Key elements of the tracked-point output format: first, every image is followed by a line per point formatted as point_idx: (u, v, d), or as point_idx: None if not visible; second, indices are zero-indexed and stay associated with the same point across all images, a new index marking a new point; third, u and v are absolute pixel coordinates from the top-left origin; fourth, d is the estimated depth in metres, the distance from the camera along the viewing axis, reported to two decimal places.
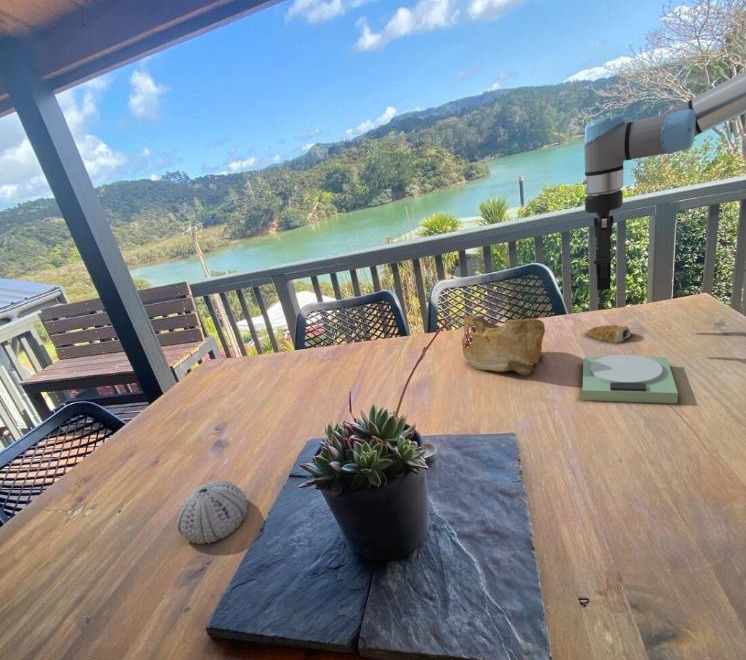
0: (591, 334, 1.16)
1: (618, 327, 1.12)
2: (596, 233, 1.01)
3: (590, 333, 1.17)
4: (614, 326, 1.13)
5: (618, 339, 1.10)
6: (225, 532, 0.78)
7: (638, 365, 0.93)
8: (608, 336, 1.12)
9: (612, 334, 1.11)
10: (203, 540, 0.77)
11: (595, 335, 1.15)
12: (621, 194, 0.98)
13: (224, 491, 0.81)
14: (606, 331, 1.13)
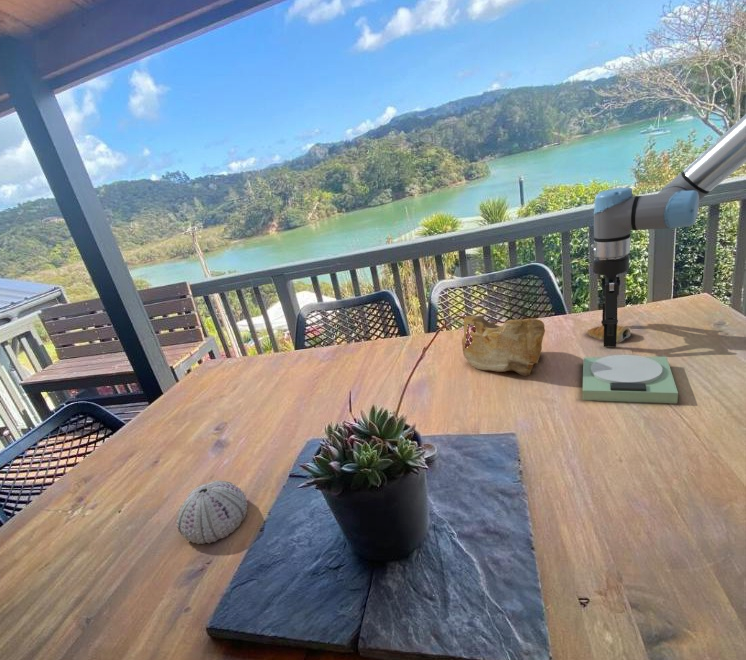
0: (591, 334, 1.16)
1: (618, 327, 1.12)
2: (603, 294, 1.07)
3: (590, 333, 1.17)
4: None
5: (618, 339, 1.10)
6: (225, 532, 0.78)
7: (638, 365, 0.93)
8: None
9: None
10: (203, 540, 0.77)
11: (595, 335, 1.15)
12: (628, 259, 1.04)
13: (224, 491, 0.81)
14: None
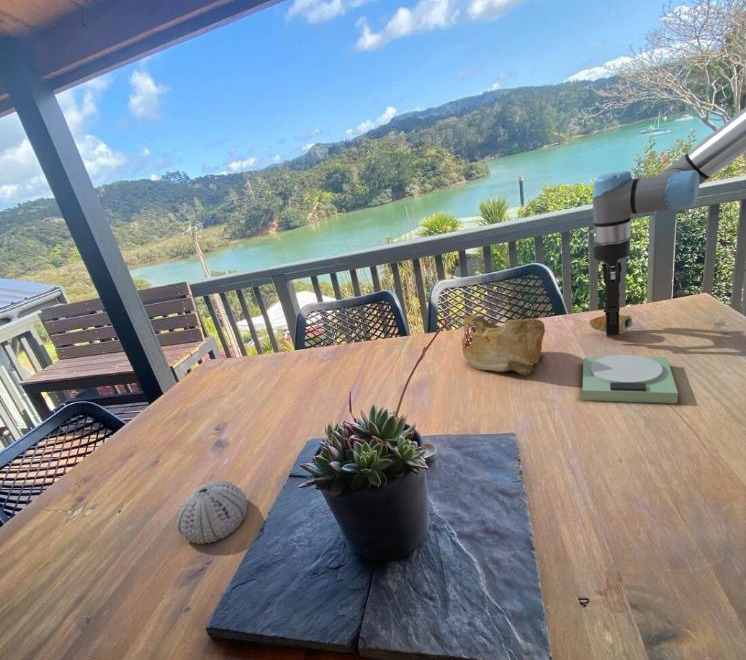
0: (593, 324, 1.15)
1: (620, 316, 1.11)
2: (605, 281, 1.07)
3: (592, 323, 1.15)
4: None
5: (620, 328, 1.09)
6: (225, 532, 0.78)
7: (638, 365, 0.93)
8: None
9: None
10: (203, 540, 0.77)
11: (597, 325, 1.14)
12: (629, 244, 1.03)
13: (224, 491, 0.81)
14: None
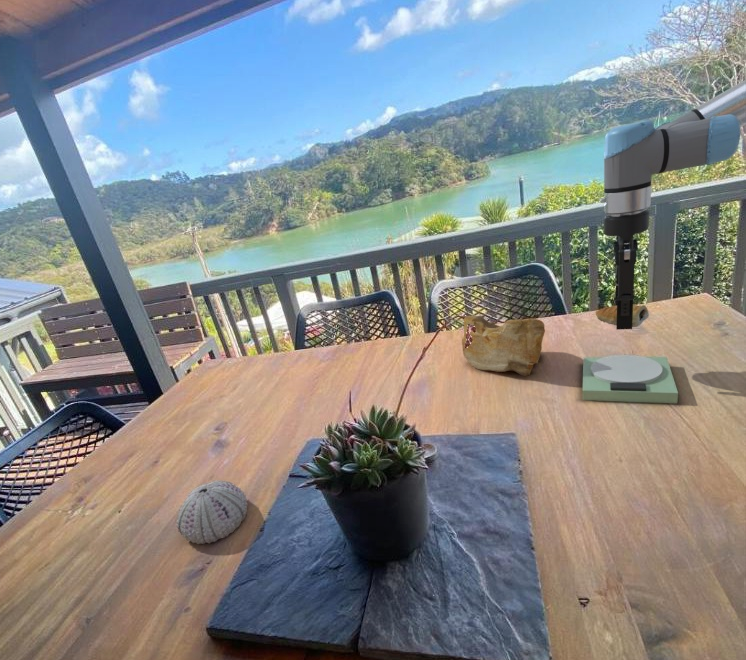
0: (600, 316, 0.95)
1: (633, 306, 0.91)
2: (617, 262, 0.86)
3: (598, 315, 0.95)
4: None
5: (634, 321, 0.89)
6: (225, 532, 0.78)
7: (638, 365, 0.93)
8: None
9: None
10: (203, 540, 0.77)
11: (605, 317, 0.94)
12: (648, 215, 0.82)
13: (224, 491, 0.81)
14: None
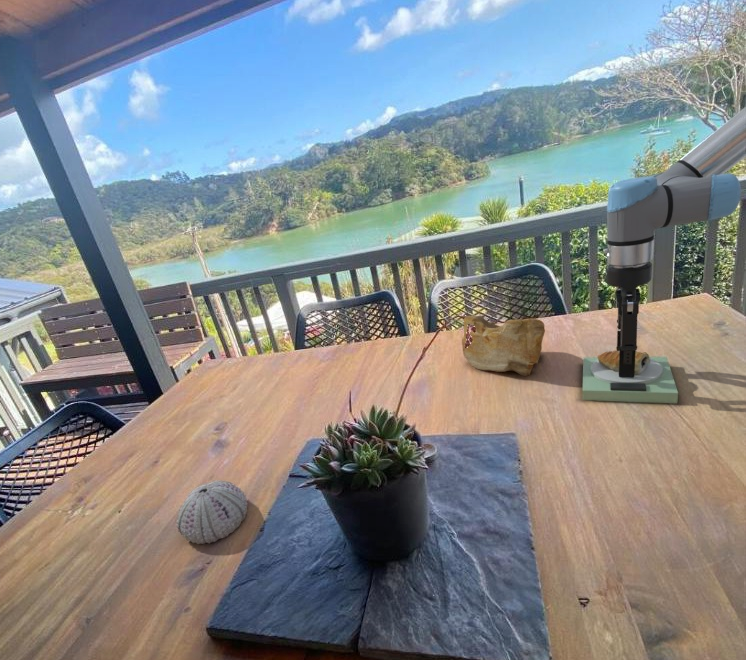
0: (601, 361, 0.95)
1: None
2: (619, 312, 0.87)
3: (600, 360, 0.96)
4: None
5: (636, 369, 0.89)
6: (225, 532, 0.78)
7: None
8: None
9: None
10: (203, 540, 0.77)
11: (607, 362, 0.94)
12: (650, 268, 0.83)
13: (224, 491, 0.81)
14: None
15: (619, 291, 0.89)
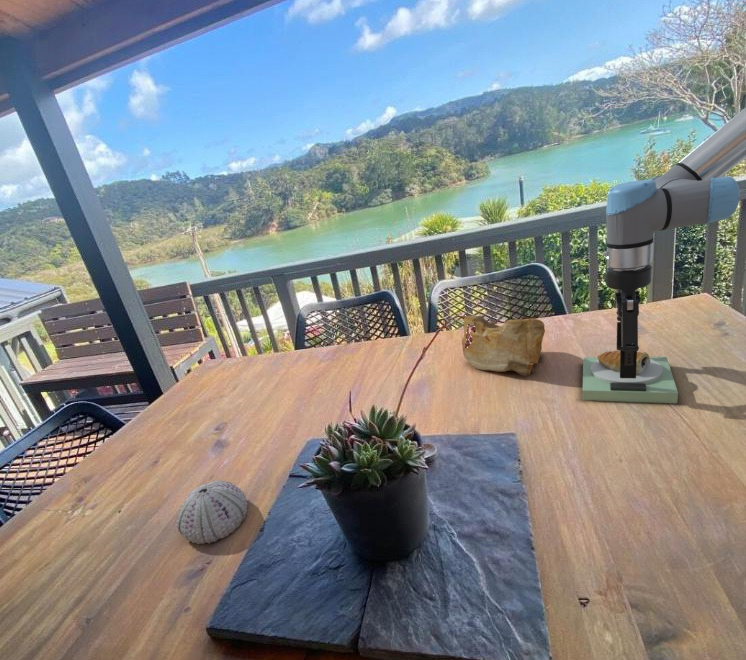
0: (601, 361, 0.95)
1: None
2: (619, 313, 0.86)
3: (600, 360, 0.96)
4: None
5: (636, 369, 0.89)
6: (225, 532, 0.78)
7: None
8: None
9: None
10: (203, 540, 0.77)
11: (607, 362, 0.94)
12: (650, 270, 0.83)
13: (224, 491, 0.81)
14: None
15: (619, 296, 0.89)
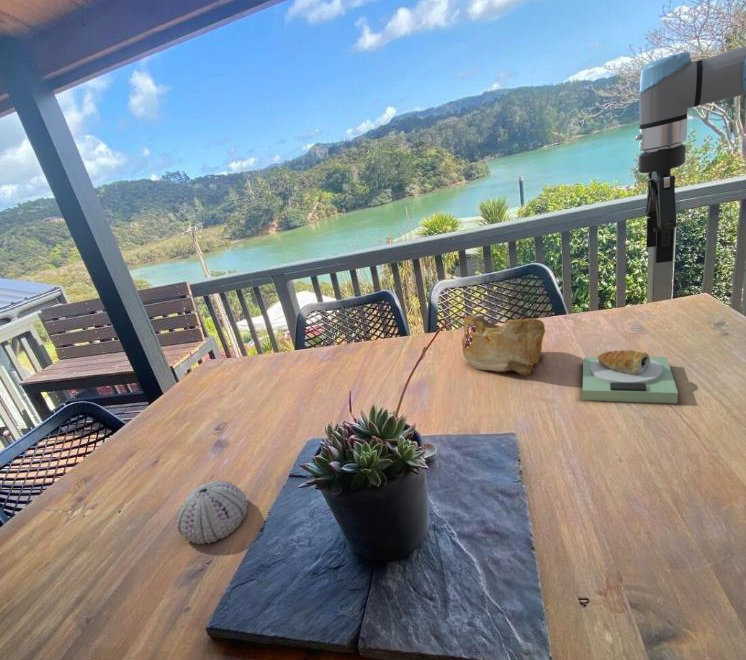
0: (601, 361, 0.95)
1: (635, 353, 0.92)
2: (654, 196, 0.87)
3: (600, 360, 0.96)
4: (630, 352, 0.92)
5: (636, 369, 0.89)
6: (225, 532, 0.78)
7: None
8: (623, 364, 0.91)
9: (629, 363, 0.90)
10: (203, 540, 0.77)
11: (607, 362, 0.94)
12: (684, 148, 0.84)
13: (224, 491, 0.81)
14: (620, 358, 0.92)
15: None
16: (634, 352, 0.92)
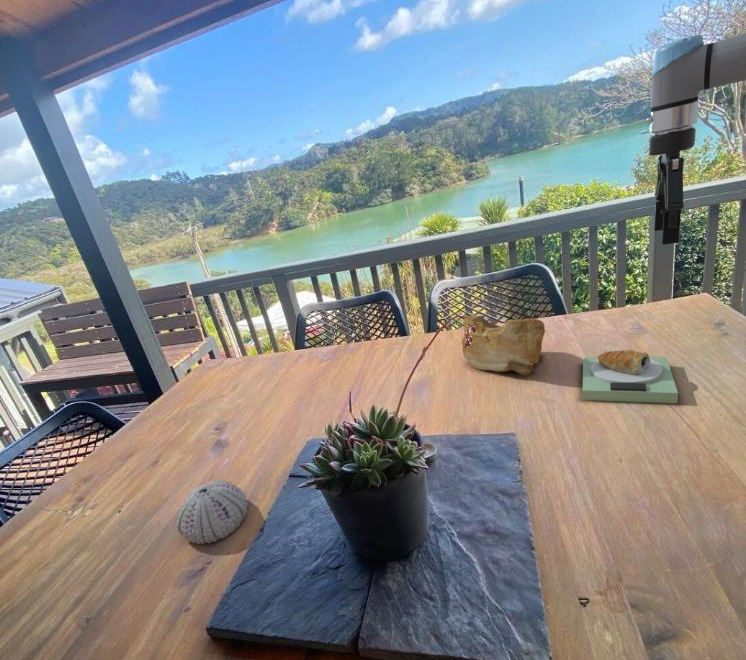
0: (601, 361, 0.95)
1: (635, 353, 0.92)
2: (663, 178, 0.89)
3: (600, 360, 0.96)
4: (630, 352, 0.92)
5: (636, 369, 0.89)
6: (225, 532, 0.78)
7: None
8: (623, 364, 0.91)
9: (629, 363, 0.90)
10: (203, 540, 0.77)
11: (607, 362, 0.94)
12: (694, 131, 0.85)
13: (224, 491, 0.81)
14: (620, 358, 0.92)
15: None
16: (634, 352, 0.92)
